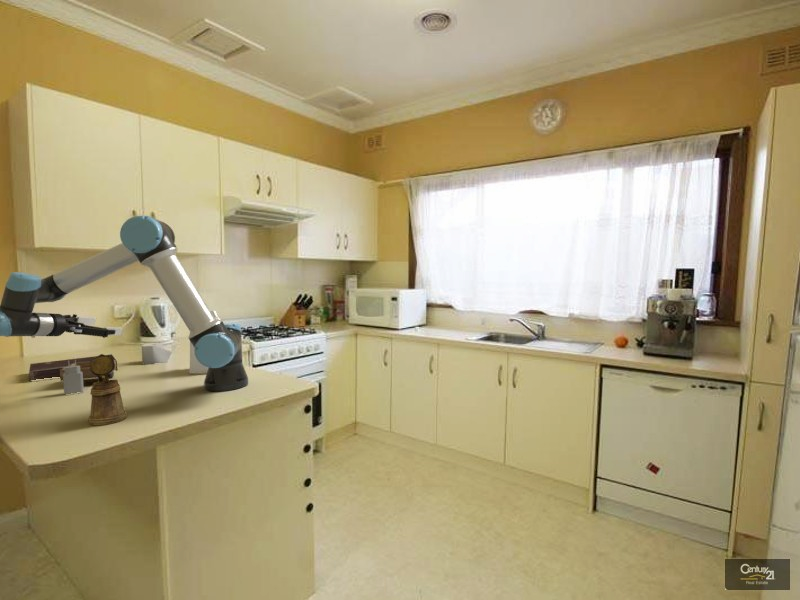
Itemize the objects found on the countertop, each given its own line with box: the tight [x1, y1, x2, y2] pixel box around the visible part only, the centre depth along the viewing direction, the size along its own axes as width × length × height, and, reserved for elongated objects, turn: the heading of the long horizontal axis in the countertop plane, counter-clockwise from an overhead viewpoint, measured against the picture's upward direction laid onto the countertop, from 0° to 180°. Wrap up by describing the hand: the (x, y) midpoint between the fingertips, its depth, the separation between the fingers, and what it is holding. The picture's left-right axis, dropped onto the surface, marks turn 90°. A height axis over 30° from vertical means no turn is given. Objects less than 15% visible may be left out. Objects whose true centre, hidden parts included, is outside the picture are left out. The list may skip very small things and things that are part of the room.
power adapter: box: [62, 359, 85, 395], centre depth 148 cm, size 3×5×12 cm, turn 126°
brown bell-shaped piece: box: [88, 353, 128, 426], centre depth 121 cm, size 9×14×18 cm, turn 40°
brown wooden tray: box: [28, 354, 118, 381], centre depth 181 cm, size 29×19×5 cm, turn 130°
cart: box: [59, 359, 117, 382], centre depth 163 cm, size 14×14×7 cm
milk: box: [189, 310, 221, 374], centre depth 180 cm, size 12×12×26 cm
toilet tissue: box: [141, 342, 173, 365], centre depth 200 cm, size 9×13×9 cm
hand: (107, 326), depth 156 cm, fingers open, 13 cm apart
